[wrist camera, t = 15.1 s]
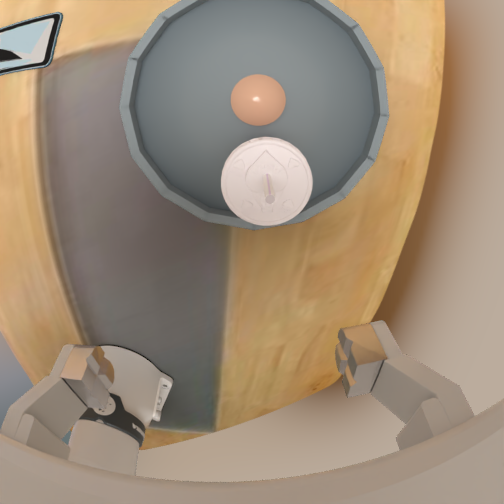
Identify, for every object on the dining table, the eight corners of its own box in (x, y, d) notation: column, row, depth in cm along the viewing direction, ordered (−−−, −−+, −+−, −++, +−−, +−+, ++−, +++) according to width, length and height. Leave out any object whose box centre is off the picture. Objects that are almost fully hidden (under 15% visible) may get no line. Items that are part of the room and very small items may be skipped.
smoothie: (295, 124, 26) (331, 151, 14) (295, 185, 29) (324, 258, 17) (229, 126, 26) (205, 153, 14) (232, 187, 29) (216, 261, 17)
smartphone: (49, 66, 20) (-23, 80, 18) (53, 66, 21) (-19, 80, 19) (63, 10, 17) (-13, 33, 14) (67, 11, 18) (-9, 33, 15)
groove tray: (336, 237, 34) (343, 247, 31) (119, 197, 30) (110, 205, 28) (397, 36, 21) (408, 32, 19) (161, -23, 17) (155, -31, 15)
